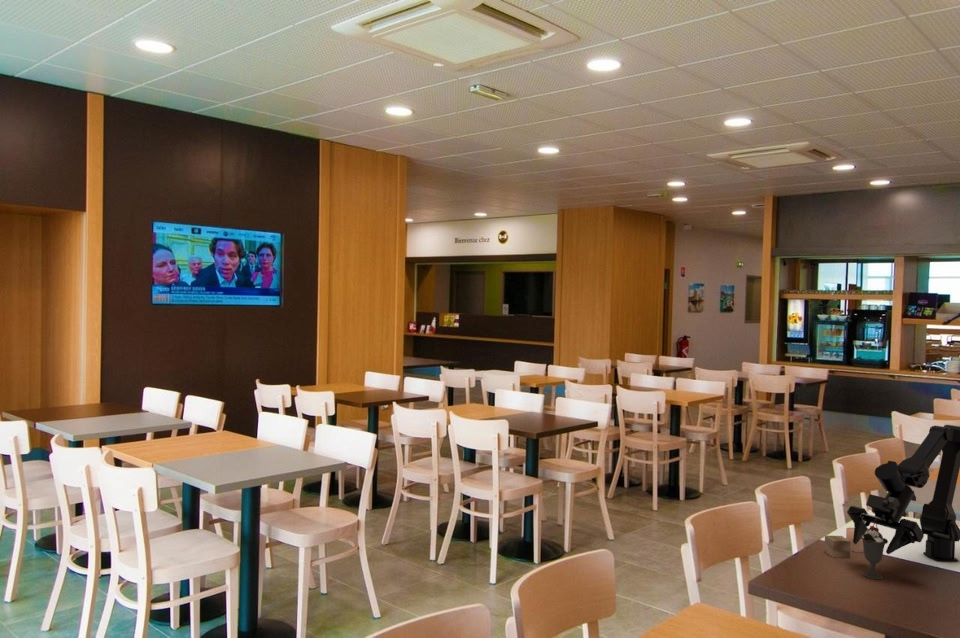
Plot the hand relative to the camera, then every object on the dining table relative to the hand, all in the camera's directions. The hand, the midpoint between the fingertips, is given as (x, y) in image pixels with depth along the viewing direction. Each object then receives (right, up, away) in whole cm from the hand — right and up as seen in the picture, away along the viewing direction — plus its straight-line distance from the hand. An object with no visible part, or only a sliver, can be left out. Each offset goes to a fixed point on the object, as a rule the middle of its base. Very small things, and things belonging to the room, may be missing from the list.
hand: (870, 547), depth 195 cm
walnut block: (0, -8, +18) cm, 19 cm away
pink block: (+8, -8, +23) cm, 25 cm away
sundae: (+1, -8, +1) cm, 8 cm away
